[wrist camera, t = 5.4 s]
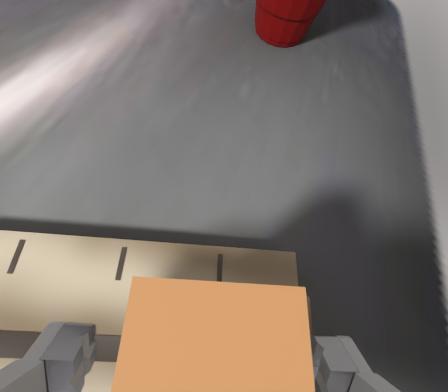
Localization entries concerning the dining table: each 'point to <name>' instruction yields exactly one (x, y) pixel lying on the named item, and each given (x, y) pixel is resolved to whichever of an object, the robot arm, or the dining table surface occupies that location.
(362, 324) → the dining table surface
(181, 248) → the fader console
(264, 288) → the fader handle
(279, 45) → the plastic cup
